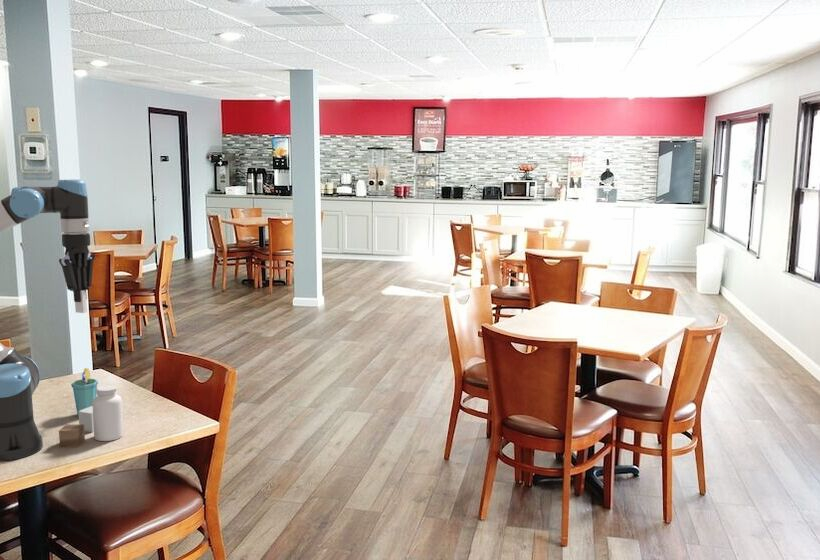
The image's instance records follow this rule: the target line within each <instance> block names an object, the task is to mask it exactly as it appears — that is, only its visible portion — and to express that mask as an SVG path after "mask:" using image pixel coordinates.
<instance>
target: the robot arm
mask: <svg viewBox="0 0 820 560" xmlns="http://www.w3.org/2000/svg"><path fill="white" fill-rule="evenodd" d="M52 213H53V214H57V213H59V215H60V217H59V218H60V220H59V221H60V231H61V233H62V234H61V244H62V245H61V246H62V247H64V248H65V250H64V251H65V252H64V257H63V258H59V259H58V262H59V264H60V266H61V269H62V272H63V273H62V274H63V275H64V276H63V277H64V279H65V283H66V288H67V290H68V291H71V292H73V301H74V307H75V309H74V310H75V313H78V314H84V313H87V312H88V310H87V309H88V308H87V298H88V297H87V290H88V291H89V290H90V287H92V281H93V280H92V279H93V269H94V268H93V267H94V261H95V257H96V254H94V253H90V250H89V246H91V234H90V233H89V231H90V221H89V220H90V219H89V202H88V191H87V183H86V182H85V181H84V180H83V179H59V180H57V185H56V186H15V187H13V188H12V189H11V192H10V195H8V196H7V197H4V198H2V199H0V234H2V233H5V232H6V231H8V230H9V229H13V228H14V227H16V226H18V225H20V224H21V223H24V222H26V221H27V220H29V219H32V218H34V217H36V216H38V215H39V214H52ZM40 373H41V372H40V369H39V366H38V365H37V363H36V362H35V361H34V360H33V359H32V358H30V357H28V356H25V355H22V354H21V353H20V352H19V351H18V350H16V348H14V346H12V347H11V346H9V347H8V346H5V345H3V344H2V343H1V342H0V462H3V461H5V462H6V461H12V460H13V461H14V460H17V459H22V458H25V457H29V456H32V455H34V454H35V453H37V452H39V451H40V450H41V449H43V447H44V443H43V442H44V441H43V437H42V435H41V434H40V432H39V430H38V426H37V425H36V422H35V418H34V406H33V405H34V404H33V395H34V393H35V392H36V389H37V388H38V386H39V384H40V378H41V377H40V376H41V374H40Z"/></svg>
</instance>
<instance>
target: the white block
mask: <svg viewBox="0 0 820 560" xmlns="http://www.w3.org/2000/svg"><path fill="white" fill-rule="evenodd" d="M78 414H79V416H78V423H79V424H84V432H87V433H92V434H94V423H93V406H90V407H88V408H85V409H83V410H80V411H78Z"/></svg>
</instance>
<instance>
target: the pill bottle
mask: <svg viewBox="0 0 820 560" xmlns="http://www.w3.org/2000/svg"><path fill="white" fill-rule="evenodd" d="M92 404H93V423H94V432H93V436H94V439H95V441H100V442H109V441H110V442H111V441H115V440H118V439H120V438H122V437H123V435H124V420H123V418H124V417H123V399H122V396H120V395H119V394H117V387H116V385H112V384H111V385H110V384H107V385H100V386H97V394H96V397H95V398H94V400H93V403H92Z"/></svg>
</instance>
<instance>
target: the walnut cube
mask: <svg viewBox="0 0 820 560" xmlns="http://www.w3.org/2000/svg"><path fill="white" fill-rule="evenodd" d="M58 436H59V437H58V438H59V448H80V446H81V445H82V444H83V443H84V442H85V441H86V439H85V436H86V435H85V431H84V424H77V423H75V424H73V423H72V424H71V423H70V424H65V425H64V426H62V427H61V428H60V429H59V430H58Z"/></svg>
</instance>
